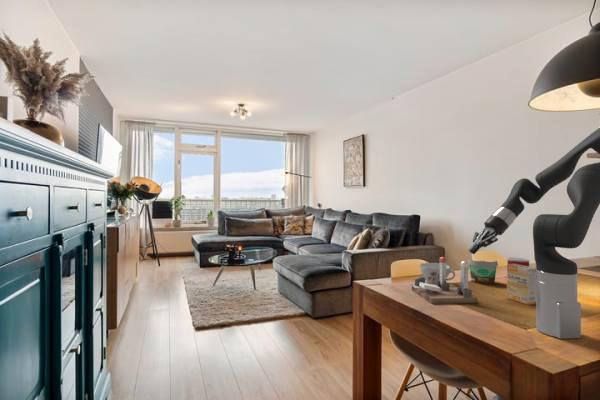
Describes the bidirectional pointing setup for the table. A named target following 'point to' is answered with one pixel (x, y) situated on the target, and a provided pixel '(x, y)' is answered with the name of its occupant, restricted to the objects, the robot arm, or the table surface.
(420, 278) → the button
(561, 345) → the table surface
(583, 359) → the table surface
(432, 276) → the teacup
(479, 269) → the food container
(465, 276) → the grey metal bar
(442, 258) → the red toggle
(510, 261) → the canned food
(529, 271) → the supplement box
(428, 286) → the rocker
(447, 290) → the panel
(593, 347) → the table surface
